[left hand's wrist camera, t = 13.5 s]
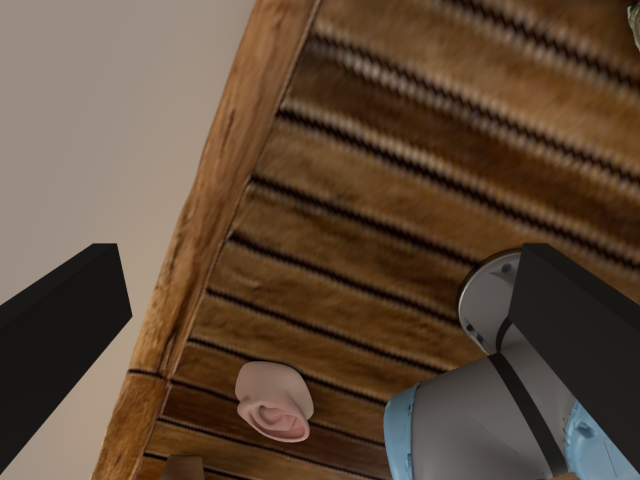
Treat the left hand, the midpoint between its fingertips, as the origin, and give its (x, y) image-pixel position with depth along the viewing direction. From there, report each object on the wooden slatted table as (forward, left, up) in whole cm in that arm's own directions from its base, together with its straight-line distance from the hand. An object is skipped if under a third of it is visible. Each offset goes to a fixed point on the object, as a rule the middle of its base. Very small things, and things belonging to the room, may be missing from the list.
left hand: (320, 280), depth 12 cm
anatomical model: (-6, +38, -34) cm, 51 cm away
